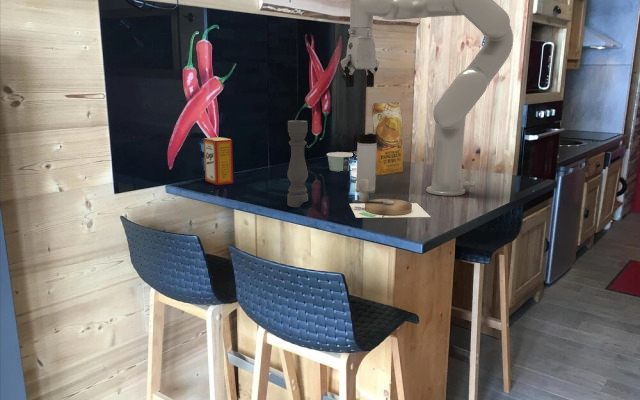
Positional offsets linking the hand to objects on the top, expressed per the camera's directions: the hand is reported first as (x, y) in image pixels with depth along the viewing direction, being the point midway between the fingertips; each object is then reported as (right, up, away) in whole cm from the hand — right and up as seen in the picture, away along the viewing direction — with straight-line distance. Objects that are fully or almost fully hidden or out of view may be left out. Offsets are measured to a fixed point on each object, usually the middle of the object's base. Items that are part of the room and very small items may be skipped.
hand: (359, 87), depth 183 cm
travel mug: (+2, -36, -2) cm, 36 cm away
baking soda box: (-50, -32, +14) cm, 61 cm away
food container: (-5, -26, +42) cm, 50 cm away
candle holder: (-20, -40, -20) cm, 49 cm away
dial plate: (+6, -42, -32) cm, 53 cm away
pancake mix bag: (+14, -27, +35) cm, 47 cm away
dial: (+4, -41, -32) cm, 52 cm away
